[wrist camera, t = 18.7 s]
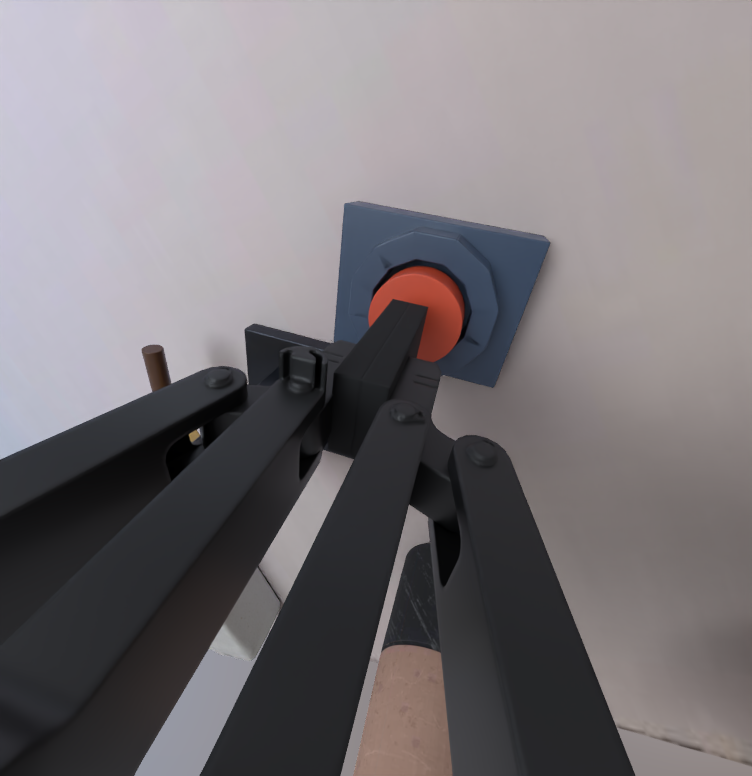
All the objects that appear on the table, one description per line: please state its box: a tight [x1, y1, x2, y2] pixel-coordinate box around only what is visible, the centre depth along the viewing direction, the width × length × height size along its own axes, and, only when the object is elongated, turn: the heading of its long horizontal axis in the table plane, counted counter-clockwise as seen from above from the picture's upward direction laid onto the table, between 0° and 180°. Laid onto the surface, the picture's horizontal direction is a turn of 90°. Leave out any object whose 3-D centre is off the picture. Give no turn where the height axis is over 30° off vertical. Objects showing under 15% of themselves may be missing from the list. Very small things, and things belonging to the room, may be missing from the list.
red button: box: [369, 266, 465, 362], centre depth 17 cm, size 4×4×2 cm
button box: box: [334, 201, 550, 388], centre depth 19 cm, size 10×8×4 cm
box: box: [209, 567, 280, 661], centre depth 45 cm, size 23×8×32 cm
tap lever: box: [142, 345, 200, 442], centre depth 21 cm, size 13×7×2 cm
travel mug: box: [353, 543, 453, 776], centre depth 25 cm, size 8×8×20 cm
